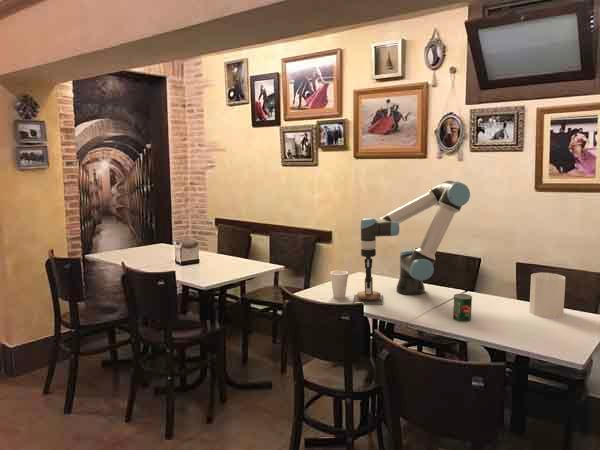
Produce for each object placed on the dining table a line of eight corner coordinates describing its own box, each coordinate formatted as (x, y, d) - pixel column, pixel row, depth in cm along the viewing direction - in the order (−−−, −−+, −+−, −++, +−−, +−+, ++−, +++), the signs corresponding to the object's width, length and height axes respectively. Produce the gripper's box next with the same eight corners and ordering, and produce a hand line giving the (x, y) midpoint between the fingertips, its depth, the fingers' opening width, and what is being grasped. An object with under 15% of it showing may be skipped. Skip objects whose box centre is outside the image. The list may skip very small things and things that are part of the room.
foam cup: (348, 298, 268) (348, 274, 266) (331, 298, 268) (330, 274, 266) (347, 293, 277) (347, 270, 275) (330, 293, 277) (330, 270, 275)
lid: (380, 293, 269) (380, 275, 268) (380, 299, 257) (380, 281, 256) (357, 292, 271) (357, 275, 270) (356, 299, 259) (356, 280, 258)
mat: (382, 296, 270) (382, 295, 270) (382, 304, 256) (382, 303, 256) (354, 295, 273) (354, 294, 273) (352, 303, 258) (352, 302, 258)
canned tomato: (468, 323, 227) (469, 299, 225) (451, 320, 231) (451, 297, 229) (473, 318, 234) (473, 295, 232) (455, 315, 238) (456, 292, 236)
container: (549, 320, 230) (551, 281, 227) (522, 311, 242) (524, 274, 240) (569, 315, 236) (572, 277, 234) (542, 307, 249) (544, 271, 246)
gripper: (361, 245, 269) (362, 288, 273) (360, 251, 253) (360, 297, 256) (376, 245, 268) (376, 288, 271) (375, 251, 252) (375, 297, 255)
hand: (368, 292), depth 264 cm, fingers closed on lid, 4 cm apart
